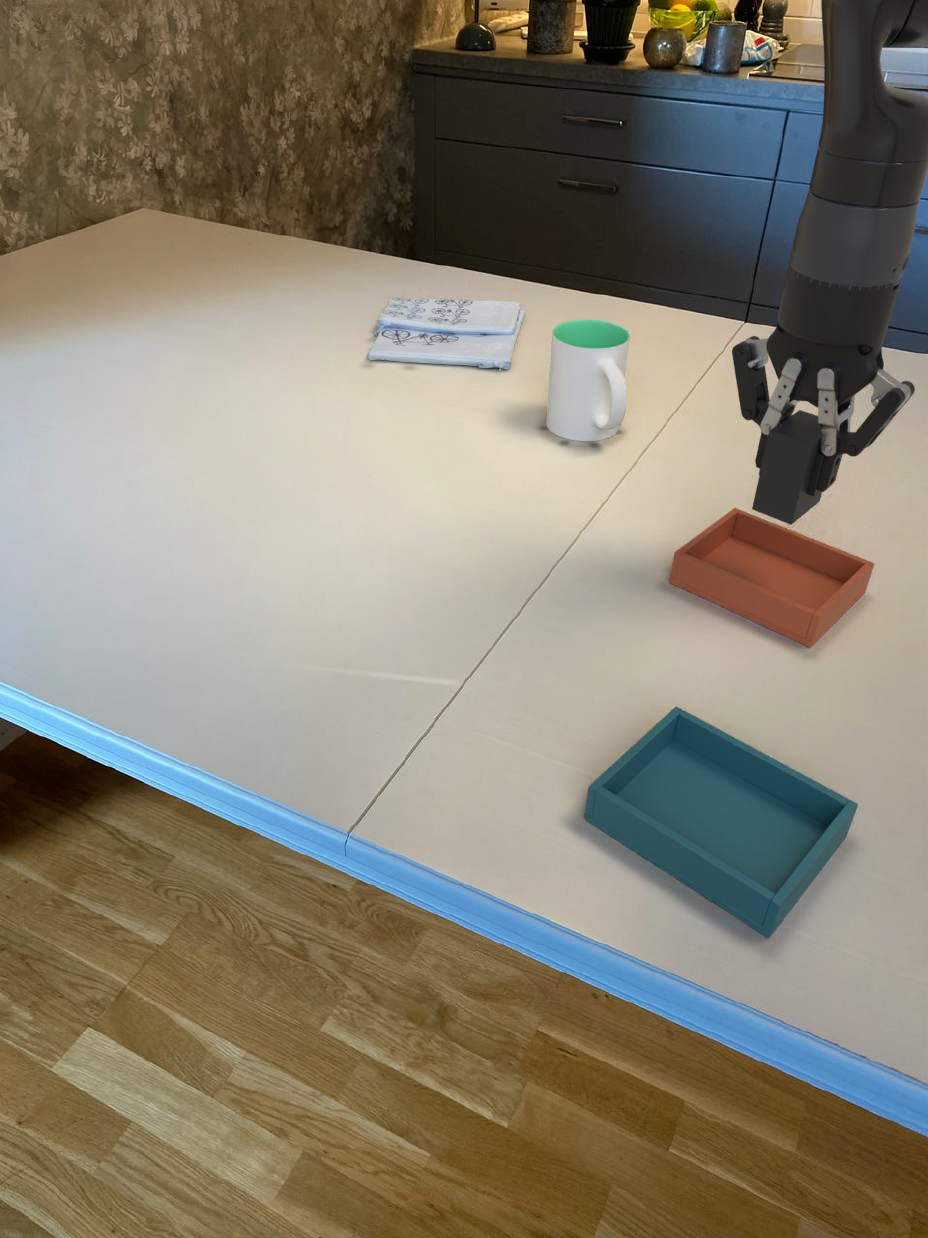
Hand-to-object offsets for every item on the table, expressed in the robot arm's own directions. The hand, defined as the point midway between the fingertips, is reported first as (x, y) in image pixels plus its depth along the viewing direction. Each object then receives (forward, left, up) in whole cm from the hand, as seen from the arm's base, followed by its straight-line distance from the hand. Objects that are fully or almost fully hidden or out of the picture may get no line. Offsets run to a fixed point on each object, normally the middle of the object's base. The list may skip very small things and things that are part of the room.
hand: (792, 481), depth 78 cm
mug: (+28, -13, -11) cm, 33 cm away
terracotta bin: (0, 0, -10) cm, 10 cm away
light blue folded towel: (+58, -22, -11) cm, 63 cm away
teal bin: (-11, +27, -10) cm, 30 cm away
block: (0, 0, -2) cm, 2 cm away
